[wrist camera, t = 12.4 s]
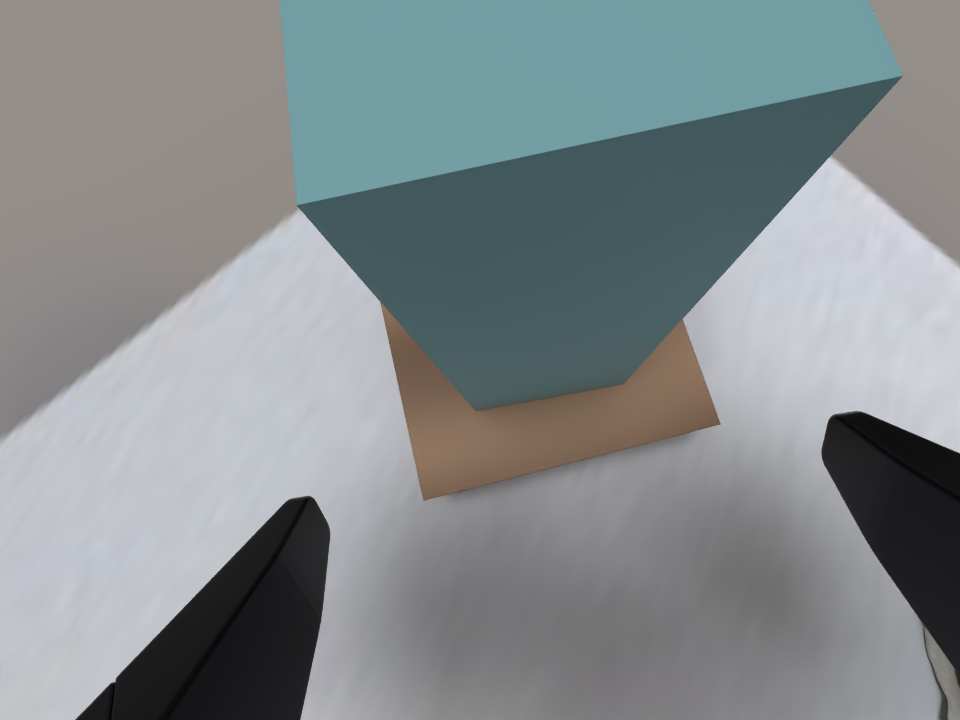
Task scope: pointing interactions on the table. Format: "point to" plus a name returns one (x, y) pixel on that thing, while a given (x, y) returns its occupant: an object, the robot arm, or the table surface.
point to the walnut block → (542, 417)
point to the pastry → (945, 676)
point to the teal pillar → (562, 162)
